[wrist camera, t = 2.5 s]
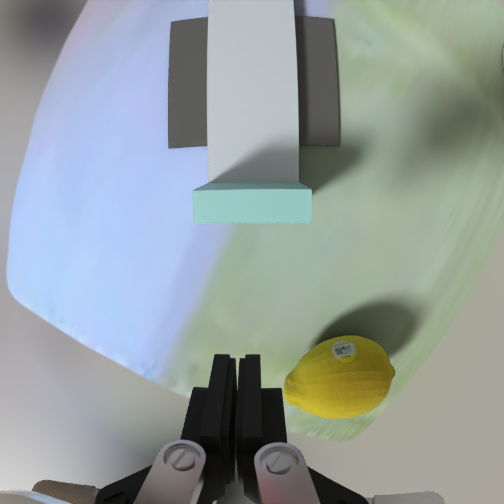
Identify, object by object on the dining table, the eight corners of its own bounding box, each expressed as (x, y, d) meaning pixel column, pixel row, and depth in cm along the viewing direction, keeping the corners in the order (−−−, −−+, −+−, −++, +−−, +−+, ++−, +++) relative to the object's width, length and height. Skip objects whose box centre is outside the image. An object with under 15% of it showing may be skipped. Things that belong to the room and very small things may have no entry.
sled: (294, -29, 18) (303, -73, 11) (303, 205, 25) (319, 222, 18) (206, -28, 18) (192, -70, 12) (205, 206, 25) (185, 224, 18)
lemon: (390, 321, 28) (422, 367, 21) (371, 379, 31) (392, 429, 23) (286, 318, 28) (294, 371, 21) (277, 380, 31) (280, 436, 23)
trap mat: (331, 20, 20) (332, 18, 20) (338, 146, 24) (338, 146, 23) (171, 23, 20) (171, 22, 20) (169, 148, 24) (168, 148, 24)
